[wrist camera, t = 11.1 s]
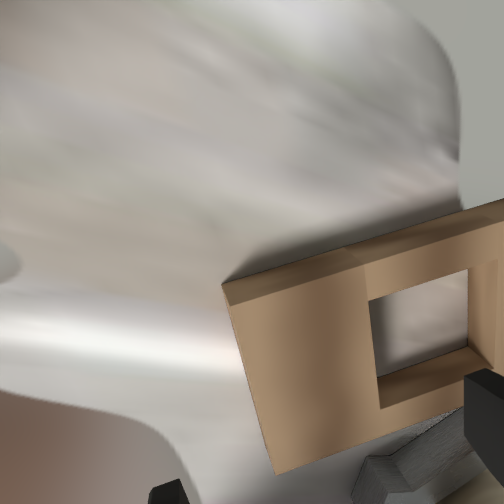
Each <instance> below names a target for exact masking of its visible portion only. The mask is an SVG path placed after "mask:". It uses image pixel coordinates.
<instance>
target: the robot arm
mask: <svg viewBox="0 0 504 504" xmlns="http://www.w3.org/2000/svg"><path fill="white" fill-rule="evenodd" d="M464 436H465V437H466V439H467V440H468V442H469V443H470V445H471V446H472V447H473V449H474V450H475V452H476V453H477V455H478V456H479V457H480V459H481V460H482V462H483V463H484V464H485V466H486V467H487V468H488V470H489V471H490V472H491V474H492V475H493V476H494V477H495V478H496V480H497V481H498V482H499V483H500V484H501V485H502V486H503V488H504V376H502V375H500V374H498V373H496V372H493V371H491V370H489V369H487V368H484V369H481V370H478V371H475V372H472V373H470V374H467V375H464ZM148 504H190V503H189V501H188V498H187V496H186V493H185V491H184V489H183V486H182V484H181V481H180V479H176V480H173V481H171V482H168V483H165V484H163V485H159V486H157V487H154V488H153V489H152V490H151V492H150V493H149V499H148Z"/></svg>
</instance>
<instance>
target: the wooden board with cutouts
mask: <svg viewBox="0 0 504 504" xmlns="http://www.w3.org/2000/svg"><path fill="white" fill-rule="evenodd" d="M465 269H468V347H465V348H462V349H459V350H456V351H454V352H451V353H448V354H445V355H442V356H439V357H437V358H434V359H431V360H428V361H425V362H422V363H419V364H417V365H414V366H411V367H408V368H405V369H402V370H400V371H397V372H394V373H391V374H388V375H385V376H383V377H380V378H377V377H376V368H375V359H374V350H373V341H372V332H371V323H370V314H369V305H368V301H370V300H373V299H376V298H379V297H382V296H385V295H388V294H391V293H394V292H397V291H401V290H404V289H407V288H410V287H413V286H416V285H419V284H422V283H425V282H428V281H431V280H434V279H437V278H441V277H444V276H447V275H450V274H453V273H456V272H459V271H462V270H465ZM221 286H222V289H223V293H224V297H225V300H226V304H227V308H228V311H229V315H230V318H231V322H232V326H233V329H234V333H235V337H236V340H237V344H238V348H239V351H240V355H241V359H242V362H243V366H244V370H245V373H246V377H247V380H248V384H249V388H250V391H251V395H252V399H253V402H254V406H255V410H256V413H257V417H258V421H259V424H260V428H261V431H262V435H263V439H264V442H265V446H266V449H267V452H268V454H269V457H270V460H271V463H272V466H273V469H274V472H275V475H279V474H282V473H284V472H287V471H290V470H292V469H295V468H298V467H300V466H303V465H306V464H309V463H311V462H314V461H317V460H319V459H322V458H325V457H327V456H330V455H333V454H336V453H338V452H341V451H344V450H346V449H349V448H352V447H354V446H357V445H360V444H362V443H365V442H368V441H371V440H373V439H376V438H379V437H381V436H384V435H387V434H389V433H392V432H395V431H397V430H400V429H403V428H406V427H408V426H411V425H414V424H416V423H419V422H422V421H424V420H427V419H430V418H432V417H435V416H438V415H441V414H443V413H446V412H449V411H451V410H454V409H457V408H459V407H462V406H464V375H467V374H470V373H472V372H475V371H478V370H481V369H484V368H487V369H489V370H491V371H493V372H496V373H498V374H500V375H502V376H504V198H503V199H500V200H497V201H493V202H490V203H487V204H484V205H480V206H477V207H474V208H470V209H467V210H464V211H460V212H457V213H454V214H451V215H447V216H444V217H441V218H437V219H434V220H431V221H428V222H424V223H421V224H418V225H415V226H411V227H408V228H405V229H401V230H398V231H395V232H392V233H388V234H385V235H382V236H378V237H375V238H372V239H369V240H365V241H362V242H359V243H356V244H352V245H349V246H346V247H342V248H339V249H336V250H333V251H329V252H326V253H323V254H319V255H316V256H313V257H310V258H306V259H303V260H300V261H296V262H293V263H290V264H287V265H283V266H280V267H277V268H274V269H270V270H267V271H264V272H260V273H257V274H254V275H251V276H247V277H244V278H241V279H237V280H234V281H231V282H228V283H224V284H221Z"/></svg>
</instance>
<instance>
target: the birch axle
mask: <svg viewBox="0 0 504 504" xmlns="http://www.w3.org/2000/svg"><path fill="white" fill-rule="evenodd" d="M436 504H504V488H503V486H502V485H501V484H500V483H499V482H498V481H497V480H496V478H495V477H494V476H493V475H492V474H491V472H490V471H489V470H488V469H486V470H485V471H483V472H482V473H480V474H479V475H477V476H476V477H474V478H473V479H471V480H470V481H468V482H467V483H465V484H464V485H462V486H461V487H459V488H458V489H456V490H455V491H453V492H452V493H450V494H449V495H447V496H446V497H444V498H443V499H441V500H440V501H439V502H437V503H436Z"/></svg>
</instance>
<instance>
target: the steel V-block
mask: <svg viewBox="0 0 504 504" xmlns="http://www.w3.org/2000/svg"><path fill="white" fill-rule="evenodd" d="M486 469H488V468H487V467H486V466H485V464H484V463H483V462H482V460H481V459H480V457H479V456H478V455H477V453H476V452H475V450H474V449H473V447H472V446H471V445H470V443H469V442H468V440H467V439H466V437H465V436H464V406H463V407H462V408H460V409H459V410H457V411H456V412H454V413H453V414H451V415H450V416H449V417H447V418H446V419H444V420H443V421H441V422H440V423H438V424H437V425H435V426H434V427H432V428H431V429H429V430H428V431H426V432H425V433H423V434H422V435H420V436H419V437H417V438H416V439H414V440H413V441H411V442H410V443H408V444H407V445H406V446H404V447H403V448H401V449H400V450H398V451H397V452H395V453H394V454H392V455H391V456H366V459H365V461H364V464H363V467H362V469H361V472H360V474H359V477H358V479H357V482H356V485H355V487H354V490H353V492H352V495H351V499H352V501H353V503H354V504H436V503H437V502H439V501H440V500H441V499H443V498H444V497H446V496H447V495H449V494H450V493H452V492H453V491H455V490H456V489H458V488H459V487H461V486H462V485H464V484H465V483H467V482H468V481H470V480H471V479H473V478H474V477H476V476H477V475H479V474H480V473H482V472H483V471H485V470H486Z"/></svg>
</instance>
